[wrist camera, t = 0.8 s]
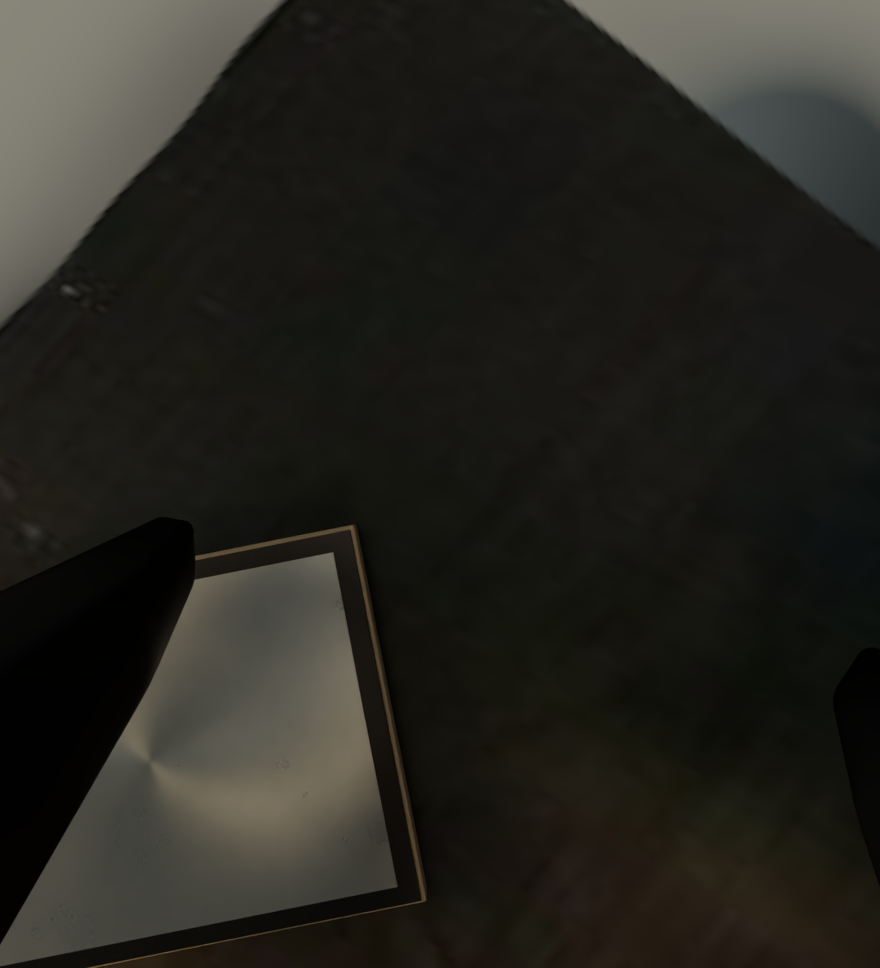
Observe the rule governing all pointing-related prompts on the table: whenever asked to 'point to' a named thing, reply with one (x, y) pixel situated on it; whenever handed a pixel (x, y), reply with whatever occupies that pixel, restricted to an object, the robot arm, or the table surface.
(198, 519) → the table surface
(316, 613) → the tablet
